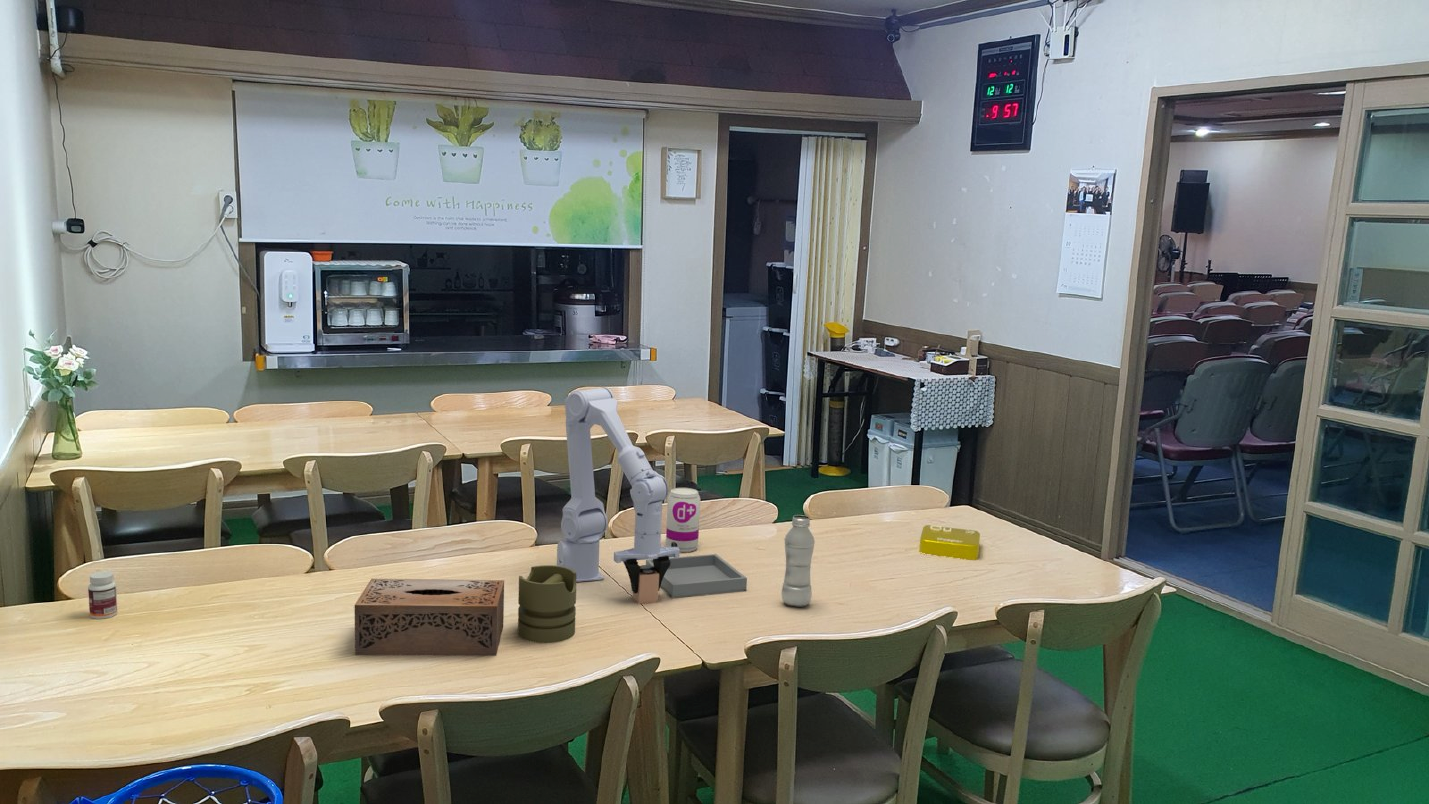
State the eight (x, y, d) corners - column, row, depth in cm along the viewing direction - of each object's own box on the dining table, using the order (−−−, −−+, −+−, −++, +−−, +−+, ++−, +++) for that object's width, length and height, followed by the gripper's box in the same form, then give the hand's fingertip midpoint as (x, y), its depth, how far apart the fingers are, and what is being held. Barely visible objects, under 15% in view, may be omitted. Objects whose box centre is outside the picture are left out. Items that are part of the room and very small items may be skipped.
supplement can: (697, 554, 263) (700, 496, 261) (664, 552, 263) (667, 494, 261) (698, 544, 271) (701, 488, 269) (666, 542, 271) (669, 486, 269)
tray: (672, 598, 232) (672, 585, 231) (645, 572, 248) (646, 559, 247) (746, 590, 239) (746, 578, 238) (715, 565, 255) (716, 553, 254)
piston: (508, 579, 204) (534, 562, 214) (507, 638, 206) (532, 618, 216) (562, 587, 201) (585, 569, 211) (561, 646, 203) (583, 626, 213)
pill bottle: (92, 611, 208) (89, 571, 207) (119, 609, 210) (117, 569, 208) (87, 620, 204) (85, 579, 202) (115, 618, 205) (113, 577, 204)
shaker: (638, 603, 227) (640, 571, 226) (632, 596, 231) (633, 565, 230) (658, 601, 229) (659, 570, 228) (651, 594, 233) (652, 563, 232)
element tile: (918, 555, 273) (919, 537, 272) (922, 539, 287) (923, 522, 286) (977, 562, 269) (979, 544, 268) (978, 546, 283) (980, 529, 283)
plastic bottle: (809, 611, 228) (815, 522, 224) (778, 607, 229) (784, 519, 226) (812, 601, 234) (818, 514, 231) (782, 598, 235) (788, 511, 232)
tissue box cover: (503, 627, 211) (504, 580, 210) (496, 657, 197) (497, 606, 195) (371, 626, 208) (371, 578, 207) (354, 656, 194) (354, 605, 193)
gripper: (621, 538, 221) (619, 600, 223) (685, 534, 227) (682, 594, 229) (611, 529, 227) (609, 589, 230) (674, 524, 233) (671, 583, 235)
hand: (645, 590), depth 230 cm, fingers closed on shaker, 4 cm apart
